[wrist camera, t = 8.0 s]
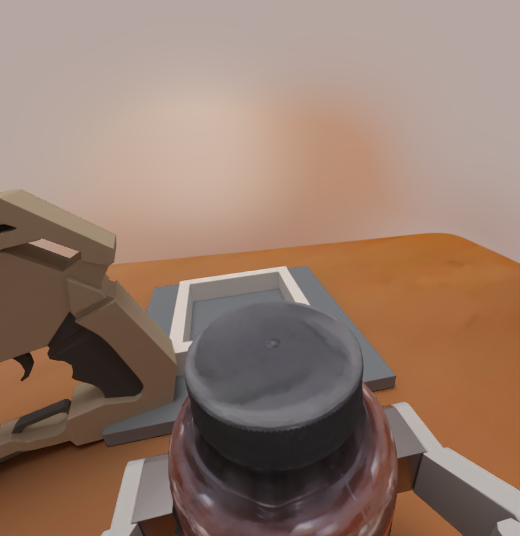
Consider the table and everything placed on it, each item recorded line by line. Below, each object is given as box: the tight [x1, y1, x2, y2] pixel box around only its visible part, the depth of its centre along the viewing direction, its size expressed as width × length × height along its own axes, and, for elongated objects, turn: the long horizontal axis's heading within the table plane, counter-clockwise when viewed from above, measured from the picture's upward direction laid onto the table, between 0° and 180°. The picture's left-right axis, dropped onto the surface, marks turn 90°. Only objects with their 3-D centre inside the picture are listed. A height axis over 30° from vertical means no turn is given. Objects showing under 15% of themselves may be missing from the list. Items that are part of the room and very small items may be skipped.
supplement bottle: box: [168, 300, 398, 536], centre depth 9 cm, size 6×6×11 cm
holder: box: [102, 266, 396, 447], centre depth 25 cm, size 18×18×3 cm
